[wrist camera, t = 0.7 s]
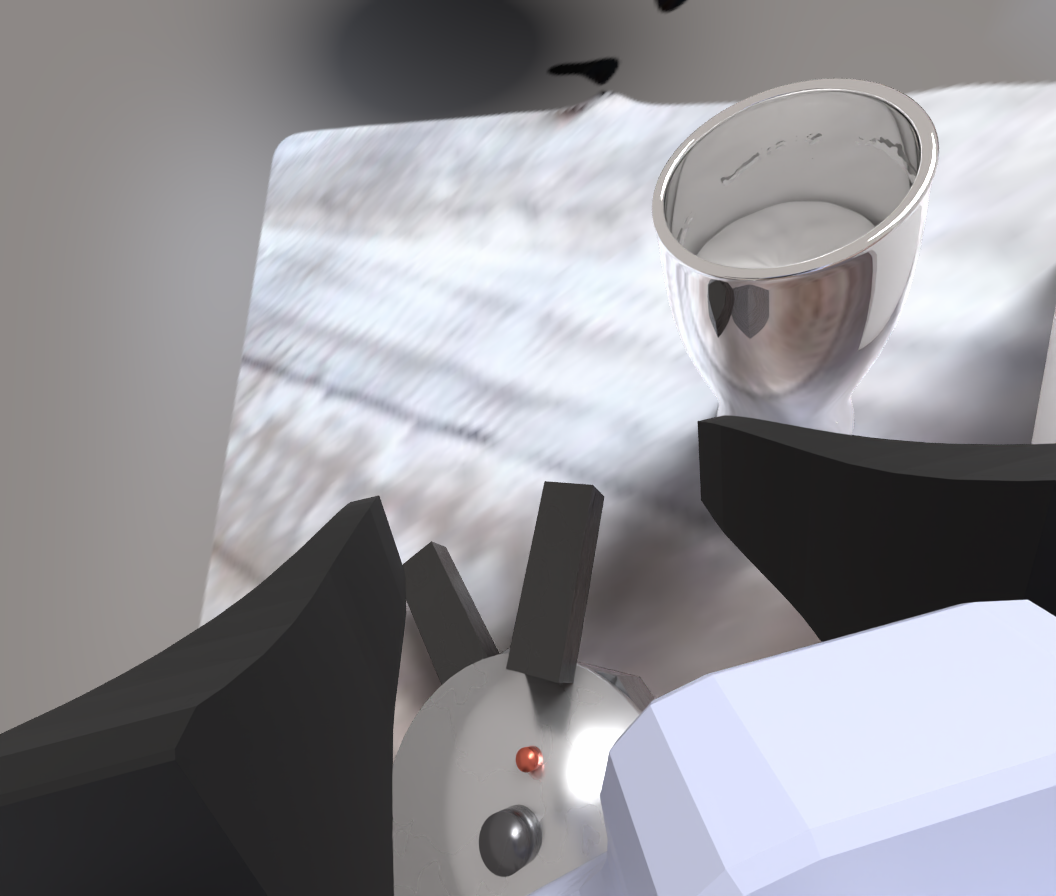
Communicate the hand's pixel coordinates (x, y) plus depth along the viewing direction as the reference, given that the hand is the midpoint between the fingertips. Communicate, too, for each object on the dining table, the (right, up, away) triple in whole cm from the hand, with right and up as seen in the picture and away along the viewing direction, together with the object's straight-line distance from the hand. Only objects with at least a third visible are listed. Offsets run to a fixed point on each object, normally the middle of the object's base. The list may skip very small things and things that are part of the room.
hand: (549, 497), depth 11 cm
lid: (0, -10, +9) cm, 14 cm away
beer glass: (+12, +2, +14) cm, 19 cm away
